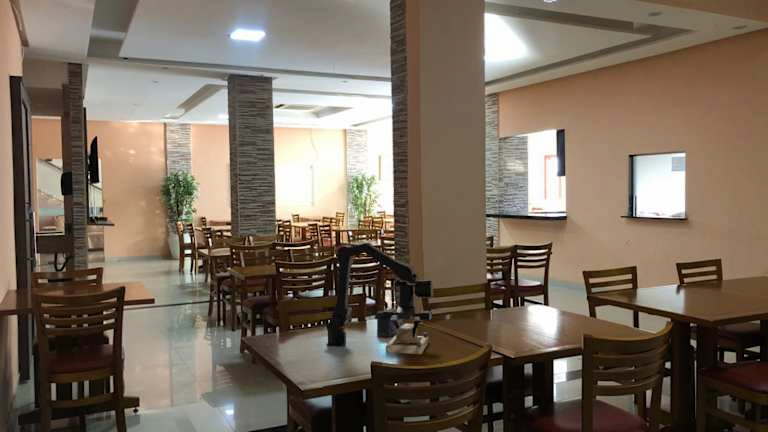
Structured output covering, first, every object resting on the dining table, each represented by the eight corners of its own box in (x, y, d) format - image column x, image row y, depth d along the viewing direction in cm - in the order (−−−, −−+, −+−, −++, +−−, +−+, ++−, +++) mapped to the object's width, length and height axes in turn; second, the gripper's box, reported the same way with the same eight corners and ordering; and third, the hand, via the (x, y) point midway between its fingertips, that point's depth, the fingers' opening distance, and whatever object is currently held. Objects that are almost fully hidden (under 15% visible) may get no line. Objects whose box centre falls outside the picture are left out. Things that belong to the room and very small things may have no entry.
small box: (388, 338, 257) (388, 313, 257) (376, 336, 261) (375, 311, 261) (403, 333, 266) (403, 309, 265) (391, 332, 270) (390, 308, 269)
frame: (396, 342, 237) (396, 329, 237) (405, 335, 248) (404, 323, 248) (408, 343, 235) (408, 330, 235) (417, 336, 247) (416, 323, 246)
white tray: (385, 352, 234) (385, 342, 234) (395, 341, 252) (395, 331, 252) (421, 354, 231) (421, 343, 231) (428, 342, 249) (428, 332, 249)
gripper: (378, 300, 235) (378, 340, 236) (427, 301, 231) (427, 342, 232) (384, 295, 246) (385, 334, 247) (431, 296, 242) (431, 336, 243)
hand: (406, 337), depth 242 cm, fingers closed on frame, 5 cm apart
